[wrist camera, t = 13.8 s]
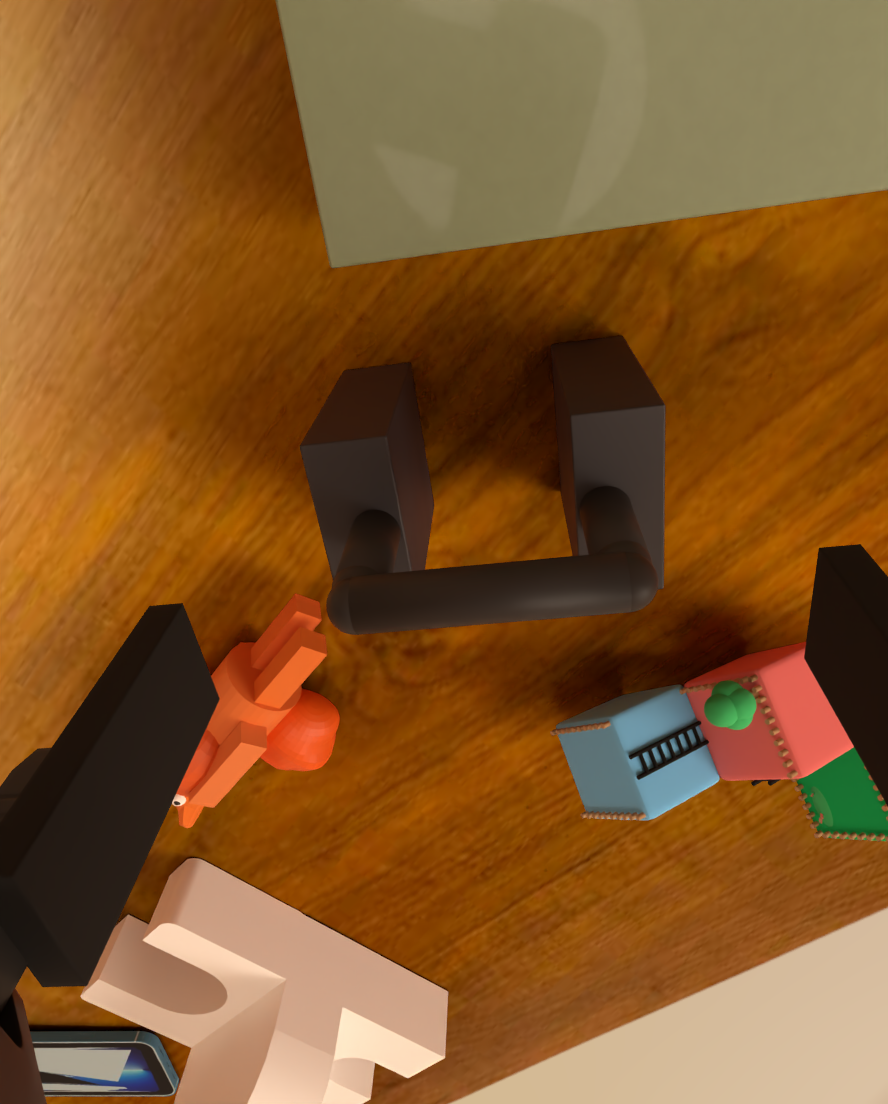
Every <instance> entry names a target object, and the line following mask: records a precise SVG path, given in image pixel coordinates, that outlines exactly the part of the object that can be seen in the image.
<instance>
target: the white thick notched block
mask: <svg viewBox="0 0 888 1104" xmlns="http://www.w3.org/2000/svg"><path fill="white" fill-rule="evenodd" d="M81 998H82V999H83V1000H85V1001H87V1002H90V1003H92V1004H94V1005H96V1006H99V1007H101V1008H103V1009H105V1010H108V1011H110V1012H112V1013H114V1014H117V1015H119V1016H121V1017H123V1018H126V1019H128V1020H130V1021H132V1022H135V1023H137V1024H139V1025H141V1026H144V1027H146V1028H148V1029H150V1030H153V1031H155V1032H157V1033H159V1034H162V1035H164V1036H166V1037H168V1038H171V1039H173V1040H175V1041H177V1042H180V1043H182V1044H184V1045H186V1046H189V1047H191V1051H190V1054H189V1057H188V1061H187V1064H186V1067H185V1070H184V1073H183V1076H182V1079H181V1082H180V1085H179V1089H178V1092H177V1095H176V1098H175V1102H174V1104H363V1103H364V1102H366V1101H368V1100H370V1099H371V1090H372V1082H373V1074H374V1066H375V1063H377V1064H379V1065H381V1066H383V1067H386V1068H388V1069H390V1070H392V1071H394V1072H396V1073H398V1074H400V1075H402V1076H404V1077H407V1078H410V1077H411V1076H413V1075H415V1074H417V1073H419V1072H420V1071H422V1070H424V1069H426V1068H428V1067H429V1066H431V1065H433V1064H435V1063H437V1062H438V1061H440V1060H442V1059H444V1058H445V1048H446V1026H447V1005H448V991H446V990H444V989H443V988H441V987H439V986H437V985H435V984H433V983H431V982H429V981H428V980H426V979H424V978H422V977H420V976H418V975H416V974H414V973H412V972H411V971H409V970H407V969H405V968H403V967H401V966H399V965H397V964H396V963H394V962H392V961H390V960H388V959H386V958H384V957H382V956H381V955H379V954H377V953H375V952H373V951H371V950H369V949H367V948H366V947H364V946H362V945H360V944H358V943H356V942H354V941H352V940H350V939H349V938H347V937H345V936H343V935H341V934H339V933H337V932H335V931H334V930H332V929H330V928H328V927H326V926H324V925H322V924H320V923H319V922H317V921H315V920H313V919H311V918H309V917H307V916H305V915H303V914H302V913H301V912H300V911H298V910H296V909H294V908H292V907H290V906H288V905H286V904H285V903H283V902H281V901H279V900H277V899H275V898H273V897H271V896H270V895H268V894H266V893H264V892H262V891H260V890H258V889H256V888H255V887H253V886H251V885H249V884H247V883H245V882H243V881H241V880H240V879H238V878H236V877H234V876H232V875H230V874H228V873H226V872H224V871H223V870H221V869H219V868H217V867H215V866H213V865H211V864H209V863H208V862H206V861H204V860H201V859H198V858H190V859H187V860H186V861H185V862H184V863H182V864H181V865H180V866H179V867H178V868H177V869H176V870H175V871H174V872H173V873H172V874H171V875H170V876H169V878H168V881H167V883H166V885H165V888H164V890H163V893H162V895H161V897H160V900H159V902H158V904H157V907H156V909H155V911H154V914H153V916H152V919H151V921H150V923H149V924H147V923H145V922H143V921H141V920H139V919H137V918H134V917H132V916H130V915H127V916H126V917H125V918H124V919H123V920H122V921H121V922H120V923H118V924H117V925H116V926H115V927H114V929H113V931H112V933H111V936H110V938H109V940H108V942H107V944H106V946H105V949H104V951H103V953H102V955H101V957H100V959H99V962H98V964H97V966H96V968H95V970H94V972H93V975H92V977H91V979H90V981H89V983H88V985H87V986H85V988H84V990H83V992H82V994H81Z"/></svg>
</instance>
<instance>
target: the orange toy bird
mask: <svg viewBox="0 0 888 1104" xmlns="http://www.w3.org/2000/svg"><path fill="white" fill-rule="evenodd" d="M321 620H322V619H321V610H320V602H318V601H315V600H312V599H310V598H307V597H304V596H302V595H299V594H296V593H295V594H294V596H293V597H292V598H291V599H290V601H289V602H288V603H287V604H286V606H285V607H284V608H283V609H282V611H281V612H280V613H279V614H278V616H277V617H276V618H275V619H274V621H273V622H272V623H271V624H270V626H269V627H268V628H267V629H266V631H265V632H264V633H263V634H262V636H261V637H260V638H259V639H258V641H257V642H256V643H253V642H248V643H243V642H240V643H239V645H237V646H236V647H234V648H233V649H232V650H231V651H230V652H229V654H228V655H227V656H226V657H225V659H224V660H223V661H222V662H221V664H220V665H219V666H218V668H217V669H216V670H215V671H214V673H213V674H212V675H211V678H212V680H213V683H214V685H215V688H216V691H217V693H218V696H219V698H220V700H219V702H218V704H217V706H216V708H215V711H214V713H213V715H212V717H211V719H210V721H209V724H208V726H207V728H206V730H205V732H204V734H203V737H202V739H201V741H200V743H199V745H198V747H197V750H196V752H195V754H194V756H193V758H192V760H191V763H190V765H189V767H188V769H187V771H186V773H185V776H184V778H183V780H182V782H181V784H180V786H179V789H178V791H177V793H176V795H175V797H174V799H173V802H172V804H173V805H174V806H176V807H177V809H178V813H179V825H180V826H183V827H185V828H189V827H192V826H193V824H194V823H195V821H196V820H197V818H198V817H199V815H200V813H201V811H202V809H203V807H204V806H207V807H213V808H214V807H215V806H216V805H217V804H218V803H219V801H220V800H221V799H222V798H223V797H224V796H225V795H226V794H227V793H228V791H229V790H230V789H231V788H232V787H233V786H234V785H235V784H236V783H237V782H238V780H239V779H240V778H241V777H242V776H243V775H244V774H245V773H246V772H247V770H248V769H249V768H250V767H251V766H252V765H253V764H254V763H255V762H256V760H257V759H258V758H259V757H260V758H261V759H263V760H264V761H266V762H267V763H269V764H270V765H272V766H274V767H275V768H277V769H282V770H297V771H309V770H314V769H318V768H320V767H322V766H324V764H325V763H326V762H327V761H328V759H329V757H330V755H331V753H332V750H333V746H334V742H335V738H336V731H337V729H338V726H339V721H340V716H339V713H338V710H337V708H336V707H335V706H334V705H333V704H332V703H331V702H330V701H329V700H328V699H327V698H325V697H324V696H322V695H320V694H318V693H316V692H313V691H310V690H307V689H302V686H301V684H302V683H303V682H304V681H305V680H306V678H307V677H308V676H309V675H310V674H311V673H312V672H313V670H314V669H315V668H316V667H317V666H318V665H319V664H320V662H321V661H322V660H323V659H324V658H325V657H326V656H327V647H326V639H325V635H323V634H320V633H317V632H314V631H313V630H314V628H315V627H316V626H317V625H318V624H319V623H320V621H321Z"/></svg>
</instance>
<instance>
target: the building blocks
mask: <svg viewBox="0 0 888 1104" xmlns="http://www.w3.org/2000/svg"><path fill="white" fill-rule="evenodd" d="M805 647H806V642H803V643H798V644H793V645H789V646H784V647H779V648H775V649H770V650H766V651H761V652H756V653H752V654H748V655H745V656H743V657H740V658H738V659H736V660H734V661H731V662H729V663H727V664H725V665H723V666H720V667H718V668H716V669H714V670H712V671H709V672H707V673H705V674H703V675H701V676H698V677H696V678H694V679H692V680H690V681H688V682H687V683H685V684H684V687H683V686H682V685H672V686H666V687H661V688H656V689H651V690H645V691H640V692H635V693H630V694H625V695H622V696H619V697H617V698H614V699H612V700H610V701H608V702H605V703H603V704H601V705H599V706H596V707H594V708H592V709H589V710H587V711H585V712H583V713H580V714H578V715H576V716H574V717H571V718H569V719H567V720H564V721H562V722H560V723H559V724H557V725H556V729H555V730H552V731H551V732H550V733H551V735H552V736H553V735H555V734H557V735H558V737H559V739H560V742H561V745H562V748H563V750H564V753H565V756H566V758H567V761H568V764H569V767H570V769H571V772H572V775H573V777H574V780H575V783H576V786H577V788H578V791H579V794H580V796H581V799H582V802H583V804H584V807H585V810H586V812H584V813H582V814H581V817H582V818H585V817H587V818H588V819H589V818H591V817H593V819H596V818H599V819H612V820H613V819H618V820H620V819H624V820H638V821H639V820H650V819H654V818H656V817H658V816H659V815H661V814H663V813H665V812H666V811H668V810H670V809H672V808H673V807H675V806H677V805H679V804H680V803H682V802H684V801H686V800H687V799H689V798H691V797H693V796H694V795H696V794H698V793H700V792H702V791H703V790H705V789H707V788H709V787H710V786H712V785H714V784H715V783H717V782H718V781H719V776H720V777H721V778H722V779H724V780H754V781H752V782H751V784H752V785H753V786H755V785H756V784H758V783H760V782H761V781H768V784H769V785H773V784H774V783H776V782H777V781H779V780H781V779H791V780H792V781H793V782H795V781H797V783H798V786H796V787H795V790H796V791H800V790H801V793H802V795H800V796H799V799H800V800H801V801H802V800H805V802H806V804H805V805H803V806H802V807H803V809H804V810H807V809H808V810H809V812H810V813H809V814H807V815H806V817H807V818H808V819H811V818H812V819H813V823H812V824H810V827H811V828H813V829H814V828H817V831H818V832H816V833H815V834H814V836H815V837H816V838H819V837H820V836H823V838H825V839H826V838H832V839H835V838H840V839H842V840H843V839H850V840H853V839H858V840H860V841H861V840H868V841H871V840H877V841H879V842H880V841H887V842H888V806H887V804H886V802H885V801H884V799H883V797H882V795H881V794H880V792H879V790H878V788H877V787H876V785H875V783H874V781H873V779H872V778H871V776H870V774H869V772H868V771H867V769H866V767H865V765H864V764H863V762H862V760H861V758H860V756H859V755H858V753H857V751H856V749H855V748H854V746H853V744H852V742H851V740H850V739H849V737H848V735H847V733H846V732H845V730H844V728H843V726H842V725H841V723H840V721H839V719H838V717H837V716H836V714H835V712H834V710H833V709H832V707H831V705H830V703H829V702H828V700H827V698H826V696H825V694H824V693H823V691H822V689H821V687H820V686H819V684H818V682H817V680H816V679H815V677H814V675H813V673H812V671H811V670H810V668H809V666H808V664H807V663H806V661H805V659H804V655H805Z"/></svg>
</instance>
